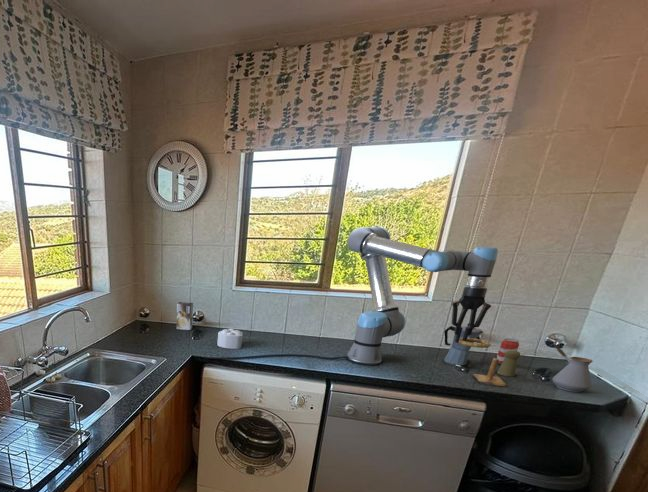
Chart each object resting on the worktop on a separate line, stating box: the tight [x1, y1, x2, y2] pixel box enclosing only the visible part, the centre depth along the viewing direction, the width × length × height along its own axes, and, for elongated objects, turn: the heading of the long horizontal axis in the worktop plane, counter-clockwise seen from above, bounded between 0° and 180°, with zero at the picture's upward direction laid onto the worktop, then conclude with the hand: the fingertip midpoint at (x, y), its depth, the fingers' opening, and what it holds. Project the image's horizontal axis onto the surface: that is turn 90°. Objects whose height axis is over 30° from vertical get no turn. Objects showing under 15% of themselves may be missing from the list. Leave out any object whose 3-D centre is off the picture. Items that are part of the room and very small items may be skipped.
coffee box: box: [176, 301, 194, 331], centre depth 249 cm, size 9×6×16 cm
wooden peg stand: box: [473, 357, 507, 387], centre depth 171 cm, size 9×9×10 cm
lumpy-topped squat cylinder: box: [216, 328, 244, 350], centre depth 217 cm, size 10×13×9 cm
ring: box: [459, 338, 492, 349], centre depth 170 cm, size 11×11×2 cm
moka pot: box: [443, 323, 484, 366], centre depth 190 cm, size 10×15×20 cm, turn 78°
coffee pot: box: [549, 343, 593, 393], centre depth 168 cm, size 21×12×15 cm, turn 171°
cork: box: [496, 350, 521, 377], centre depth 179 cm, size 6×6×11 cm
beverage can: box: [495, 337, 520, 365], centre depth 192 cm, size 6×6×12 cm
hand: (460, 342), depth 172 cm, fingers closed on ring, 2 cm apart
